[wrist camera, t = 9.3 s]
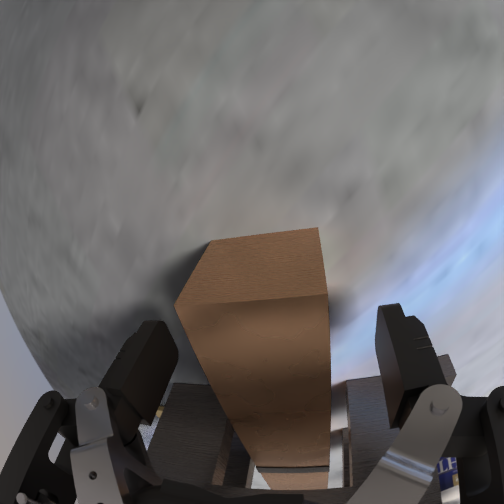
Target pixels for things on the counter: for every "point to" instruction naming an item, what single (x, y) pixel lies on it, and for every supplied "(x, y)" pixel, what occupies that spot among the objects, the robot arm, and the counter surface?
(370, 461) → the dark two-tier wooden rack
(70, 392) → the counter surface
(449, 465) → the pill bottle
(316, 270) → the tall wooden block
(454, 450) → the robot arm
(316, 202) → the counter surface
